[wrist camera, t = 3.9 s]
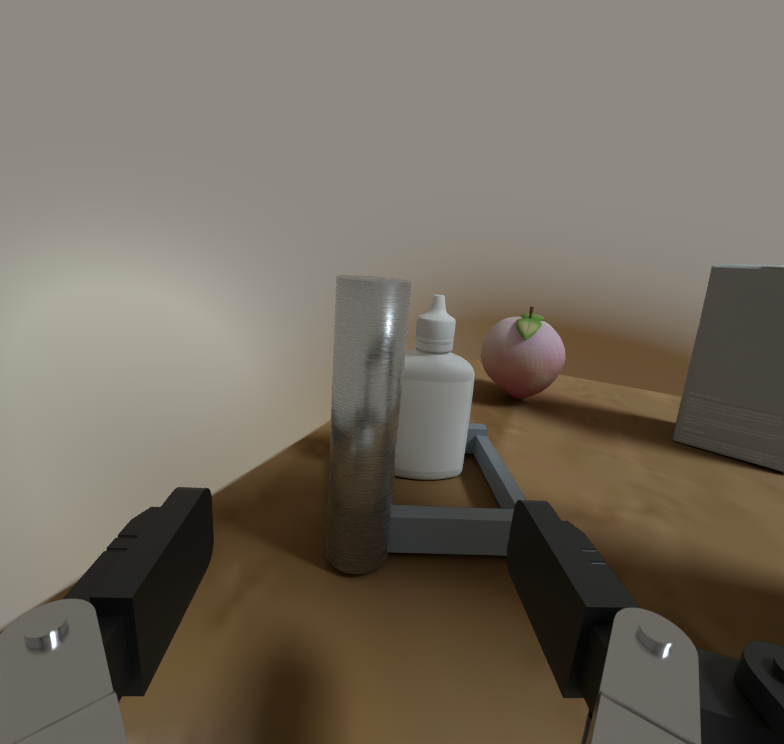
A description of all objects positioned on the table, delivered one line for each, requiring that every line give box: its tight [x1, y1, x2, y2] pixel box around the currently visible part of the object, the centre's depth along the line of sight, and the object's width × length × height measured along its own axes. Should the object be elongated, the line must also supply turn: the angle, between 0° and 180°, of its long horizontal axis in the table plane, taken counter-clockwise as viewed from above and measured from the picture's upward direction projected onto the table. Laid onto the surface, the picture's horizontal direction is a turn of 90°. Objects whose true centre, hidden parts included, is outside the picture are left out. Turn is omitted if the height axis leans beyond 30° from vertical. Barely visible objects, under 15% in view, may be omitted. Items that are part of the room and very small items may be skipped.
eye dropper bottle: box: [395, 295, 474, 480], centre depth 28 cm, size 4×6×12 cm
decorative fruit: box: [481, 307, 565, 399], centre depth 44 cm, size 9×8×10 cm
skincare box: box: [672, 264, 784, 472], centre depth 35 cm, size 8×7×16 cm
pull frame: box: [326, 275, 526, 574], centre depth 24 cm, size 11×14×13 cm
